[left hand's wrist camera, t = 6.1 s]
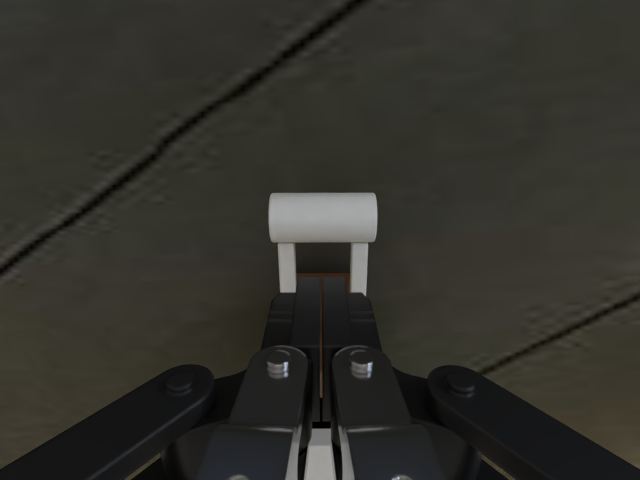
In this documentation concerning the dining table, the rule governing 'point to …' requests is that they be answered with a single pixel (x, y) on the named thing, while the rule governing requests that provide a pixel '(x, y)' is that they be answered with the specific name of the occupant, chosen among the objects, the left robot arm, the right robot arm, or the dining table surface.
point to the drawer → (323, 239)
